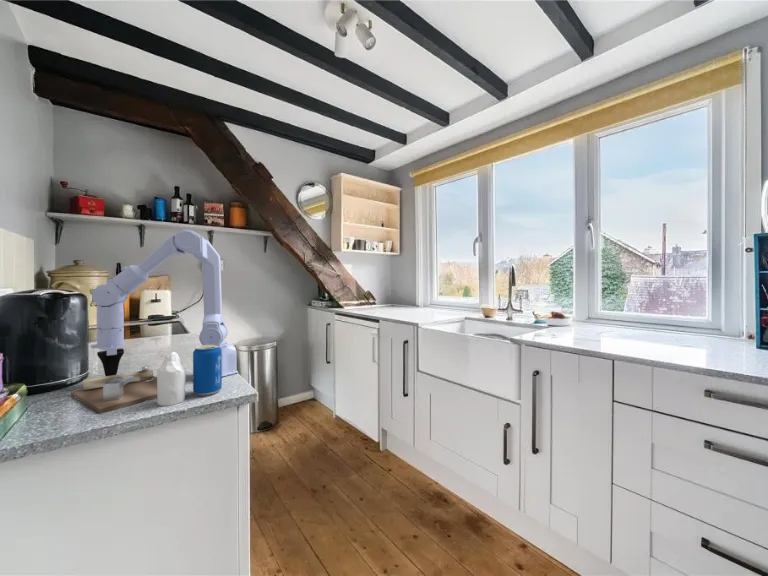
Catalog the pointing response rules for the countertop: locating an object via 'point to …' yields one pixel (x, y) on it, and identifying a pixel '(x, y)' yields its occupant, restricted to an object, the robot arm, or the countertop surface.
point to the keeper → (118, 386)
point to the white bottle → (171, 381)
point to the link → (102, 380)
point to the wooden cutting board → (131, 396)
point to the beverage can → (207, 369)
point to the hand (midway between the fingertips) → (111, 376)
